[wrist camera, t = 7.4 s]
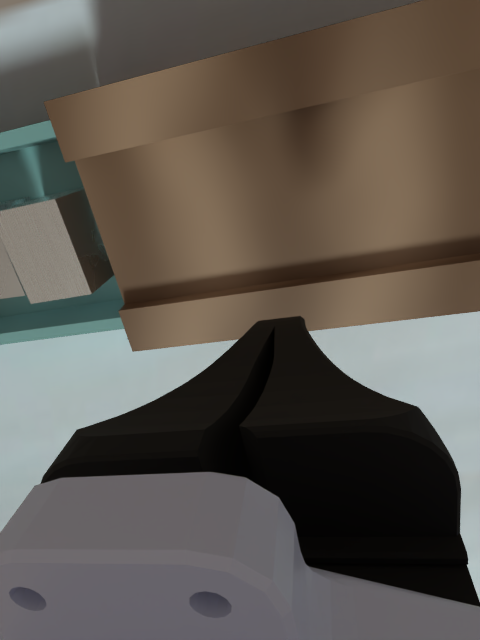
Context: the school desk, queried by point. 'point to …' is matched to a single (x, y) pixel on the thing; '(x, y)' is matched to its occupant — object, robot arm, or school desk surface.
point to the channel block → (291, 178)
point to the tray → (32, 181)
